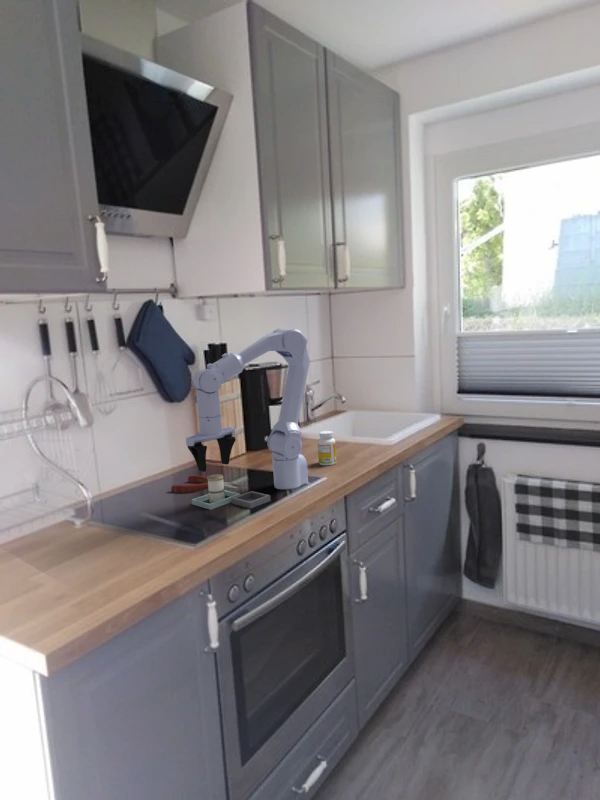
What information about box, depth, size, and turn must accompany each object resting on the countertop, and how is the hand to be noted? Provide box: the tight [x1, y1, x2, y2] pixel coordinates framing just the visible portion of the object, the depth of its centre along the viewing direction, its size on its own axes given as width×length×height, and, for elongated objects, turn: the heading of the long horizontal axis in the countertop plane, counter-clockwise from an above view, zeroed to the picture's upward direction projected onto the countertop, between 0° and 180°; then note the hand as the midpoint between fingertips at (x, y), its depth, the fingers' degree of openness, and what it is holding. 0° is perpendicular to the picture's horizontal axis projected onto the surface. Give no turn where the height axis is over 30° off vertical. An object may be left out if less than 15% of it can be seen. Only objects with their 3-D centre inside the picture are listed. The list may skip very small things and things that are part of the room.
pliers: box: [170, 475, 245, 494], centre depth 167 cm, size 12×20×3 cm, turn 70°
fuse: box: [206, 473, 226, 504], centre depth 151 cm, size 4×4×7 cm
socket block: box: [231, 490, 271, 509], centre depth 149 cm, size 7×7×2 cm
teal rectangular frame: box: [191, 489, 242, 510], centre depth 152 cm, size 10×8×2 cm
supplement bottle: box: [317, 430, 337, 466], centre depth 185 cm, size 6×6×10 cm
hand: (214, 467), depth 151 cm, fingers open, 7 cm apart
